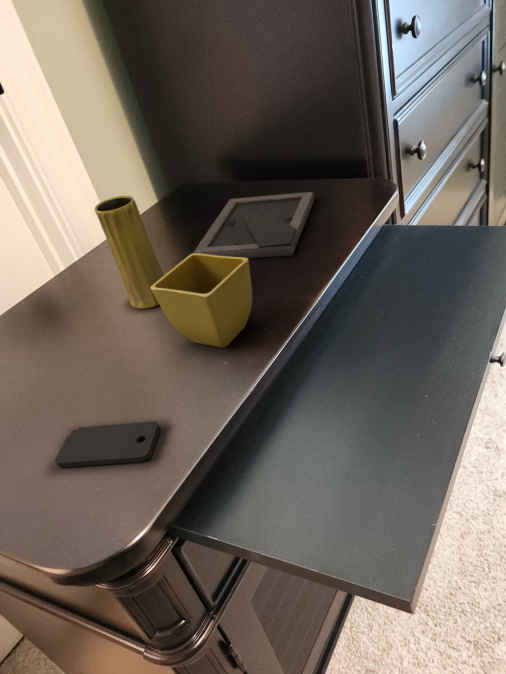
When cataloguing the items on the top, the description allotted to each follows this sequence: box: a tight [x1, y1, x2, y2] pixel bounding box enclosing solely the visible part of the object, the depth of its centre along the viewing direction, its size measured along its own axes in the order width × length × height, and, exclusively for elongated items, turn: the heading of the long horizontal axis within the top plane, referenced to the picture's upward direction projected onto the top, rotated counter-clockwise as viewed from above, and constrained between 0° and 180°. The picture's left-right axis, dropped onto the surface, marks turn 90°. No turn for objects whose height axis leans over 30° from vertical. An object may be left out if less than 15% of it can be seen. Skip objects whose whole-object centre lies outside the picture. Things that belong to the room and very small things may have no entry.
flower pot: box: [150, 252, 253, 349], centre depth 64 cm, size 9×9×9 cm
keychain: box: [54, 420, 161, 469], centre depth 54 cm, size 5×1×10 cm
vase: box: [94, 195, 165, 310], centre depth 73 cm, size 6×6×14 cm
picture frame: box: [193, 191, 315, 259], centre depth 89 cm, size 16×2×21 cm
